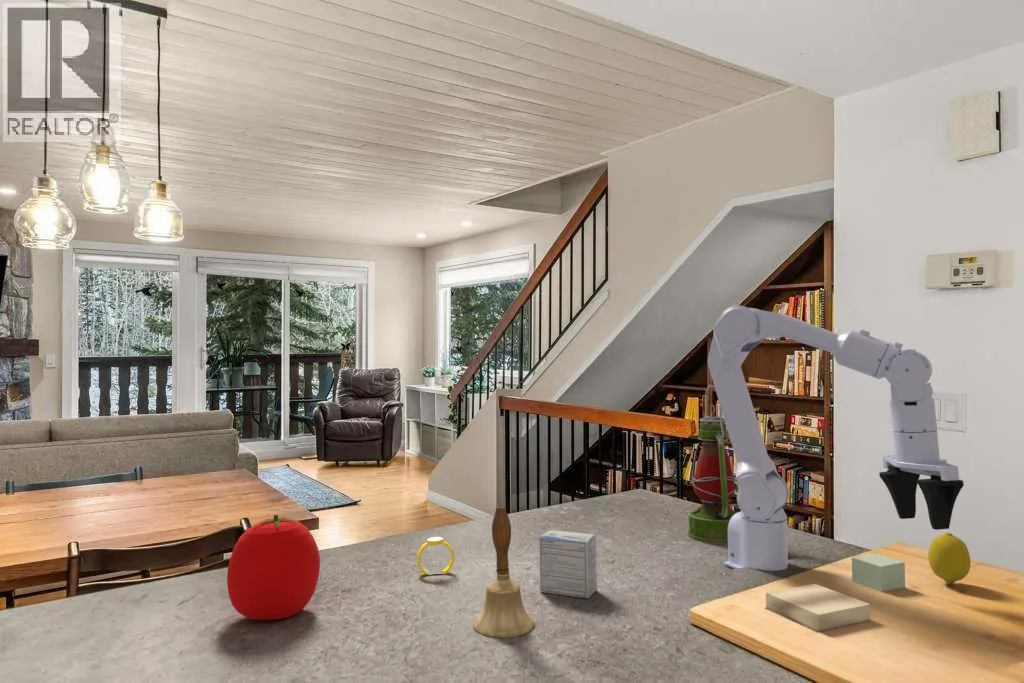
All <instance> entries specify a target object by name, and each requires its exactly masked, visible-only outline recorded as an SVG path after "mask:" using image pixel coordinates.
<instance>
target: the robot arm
mask: <svg viewBox="0 0 1024 683" xmlns="http://www.w3.org/2000/svg"><path fill="white" fill-rule="evenodd" d="M712 326H713V327H712V330H713V336H712V340H711V344H710V348H709V352H708V356H707V366H708V369H709V372H710V377H711V379H712V382H713V385H714V387H715V389H714V390H715V392H716V396H717V399H718V404H719V403H720V407H721V410H722V418H724V420H725V424H726V430H727V434H728V436H729V437H728V438H729V439H730V443H731V446H732V450H733V453H734V457H735V460H736V462H737V464H736V472H735V479H736V480H737V481H736V483H737V492H736V493H737V494H736V502H737V506H738V508H739V510H740V511H738V512H737V513H736V514H735V515H733V516H732V518H731V519H730V521H729V524H728V544H727V560H726V561H724V565H725V566H727V567H729V568H732V569H734V570H735V569H736V570H737V569H742V568H743V569H744V568H751V569H754V570H759V571H760V570H761V571H771V572H773V571H781V570H785V569H787V568H788V567H789V562H788V561H789V559H788V558H789V553H788V551H789V550H788V515H787V514H786V512H785V510H784V506H785V505H786V504H787V502H788V500H789V498H790V497H789V496H790V490H789V487H788V485H787V482H786V481H785V480H784V479H783V478H782V477H781V475H780V474H779V473H778V470H777V467H776V464H775V463H774V462H773V460H772V459H771V457H770V456H769V454H768V450H767V447H766V444H765V441H764V437H763V434H762V432H761V427H760V425H759V422H758V419H757V415H756V411H755V408H754V405H753V402H752V399H751V395H750V392H749V389H748V385H747V383H746V380H745V376H744V373H743V370H742V364H743V363H744V362H745V360H746V358H747V357H748V355H749V354H750V352H751V351H752V349H755V347H758V345H759V344H760V343H762V342H763V341H764V340H765V339H778V338H786V339H789V340H792V341H794V342H798V343H801V344H805V345H807V346H810V347H813V348H816V349H819V350H822V351H825V352H829V353H831V354H832V355H833V357H834V359H835V362H836V363H837V364H838V365H839V366H843V367H845V368H848V369H851V370H853V371H856V372H859V373H862V374H864V375H867V376H869V377H872V378H874V379H877V380H880V379H882V378H885V379H886V380H887V382H888V383H889V384H890V396H891V400H890V401H889V402H890V414H891V415H890V416H891V423H892V425H891V426H892V436H893V446H894V454H891V455H890V454H889V455H888V454H887V455H882V467H883V469H887V470H886V471H880V472H879V473H878V474H879V478H880V479H881V480H882V481H883V483H884V484H885V486H886V488H887V489H888V490H887V491H888V492H889V494H890V496H891V499H892V501H893V503H894V506H895V510H896V513H897V516H898V518H899V519H900V520H901V519H902V520H906V519H915V518H916V513H917V501H916V498H917V497H916V496H917V489H918V488H917V487H919V488H920V490H921V493H922V494H923V498H924V500H925V502H926V503H925V504H926V507H927V514H928V519H929V523H930V526H931V527H932V529H933V530H935V531H937V530H949V529H950V526H951V519H952V516H953V510H954V506H955V503H956V500H957V498H958V496H959V494H960V493H961V490H962V489H963V487H964V485H965V484H964V480H962V479H960V475H959V474H960V473H959V466H958V465H954V464H951V463H949V462H948V461H947V460H948V459H945V458H941V457H940V448H939V438H938V437H939V434H938V425H937V424H938V423H937V416H936V415H937V414H936V406H935V405H936V404H935V402H936V401H935V399H934V398H933V397H932V396H933V394H934V393H933V386H932V384H931V382H929V381H930V379H931V377H932V374H933V366H932V362H931V361H930V359H929V358H928V357H927V356H926V355H925V354H923V353H921V352H919V351H917V350H916V349H913V348H911V349H910V348H909V349H904V350H902V349H903V345H904V344H903V343H902V342H898V341H895V342H894V343H891V342H888V341H885V340H883V339H880V338H877V337H874V336H870V334H871V332H870V331H868V330H865V329H860V331H856V330H854V329H852V330H848V331H846V332H845V333H842V334H838V333H836V332H832V331H830V330H829V329H828V330H827V329H825V328H822V327H820V326H816V325H814V324H812V323H809V322H807V321H804V320H802V319H798V318H796V317H793V316H790V315H787V314H785V313H779V312H775V311H768V310H763V309H758V308H755V307H754V308H753V307H746V306H745V305H738V304H737V305H732V306H730V307H728V308H726V309H725V310H723V312H722V313H721V314H720V316H719V317H718V319H717V320H716V322H714V324H713V325H712ZM720 407H719V408H720ZM921 475H923V476H925V477H926V476H927V477H930V478H923V479H920V477H921Z"/></svg>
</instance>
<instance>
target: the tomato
mask: <svg viewBox="0 0 1024 683" xmlns="http://www.w3.org/2000/svg"><path fill="white" fill-rule="evenodd" d="M314 537H315V536H313V534H312V533H311V531H310V530H309V529H308V527H307V526H305V525H304V524H303V523H302V522H301V521H299V520H296V519H295V520H294V519H291V518H289V517H288V516H287V517H285V516H283V517H279V515H278V514H274V515H273V518H266V519H262V520H260V521H258V522H257V523H256V524H253V525H252V526H250V527H249V528H247V529H246V530H245V531H244V532H243V533H242V534H241V536H240V537H239V538H238V540H237V541H236V543H235V545H234V547H233V550H232V552H231V556H230V557H229V561H228V562H229V563H228V566H227V576H226V583H227V584H226V585H227V593H228V597H229V600H230V603H231V605H232V607H233V608H234V609H235V611H236V613H239V614H240V615H242V616H243V617H245V618H247V619H251V620H255V621H271V620H272V621H275V620H283V619H287V618H290V617H292V616H294V615H296V614H298V613H300V612H301V611H303V610H304V608H305V607H306V606H307V605H308V604H309V603H310V601H311V599H312V598H313V595H314V594H315V590H316V588H317V585H318V581H319V576H320V570H321V568H320V567H321V557H320V550H319V547H318V545H317V542H316V540H315V538H314Z"/></svg>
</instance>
